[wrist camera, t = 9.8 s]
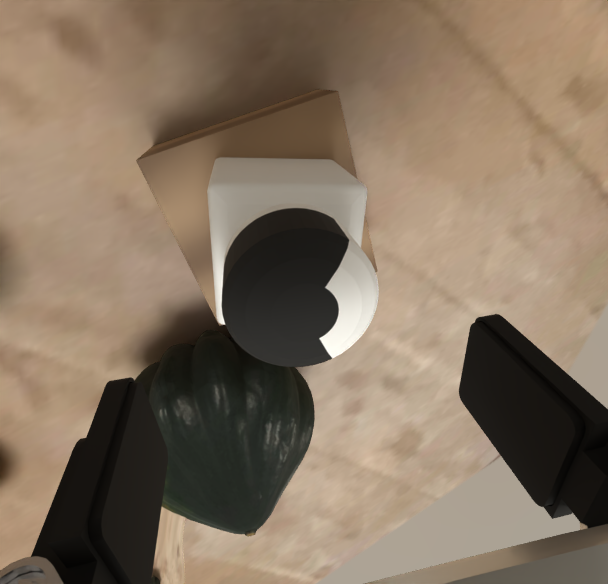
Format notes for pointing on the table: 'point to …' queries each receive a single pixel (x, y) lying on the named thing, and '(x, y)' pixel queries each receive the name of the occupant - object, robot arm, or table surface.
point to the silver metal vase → (169, 550)
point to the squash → (227, 431)
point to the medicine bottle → (290, 257)
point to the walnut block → (241, 144)
